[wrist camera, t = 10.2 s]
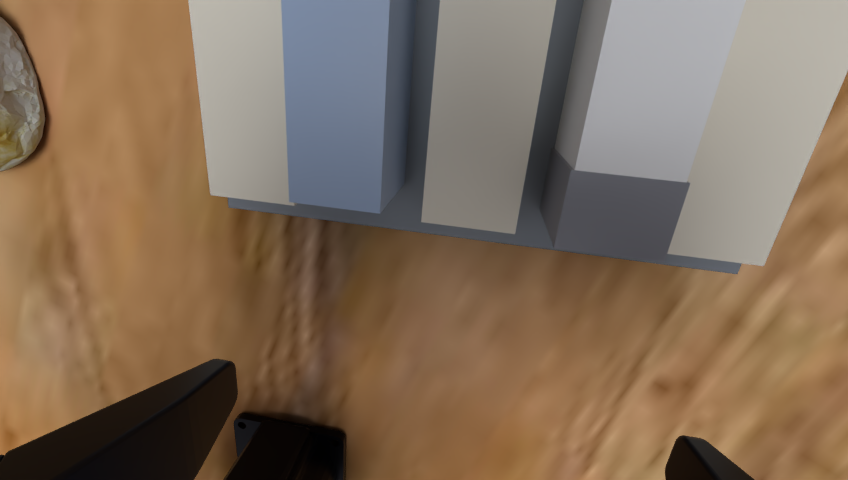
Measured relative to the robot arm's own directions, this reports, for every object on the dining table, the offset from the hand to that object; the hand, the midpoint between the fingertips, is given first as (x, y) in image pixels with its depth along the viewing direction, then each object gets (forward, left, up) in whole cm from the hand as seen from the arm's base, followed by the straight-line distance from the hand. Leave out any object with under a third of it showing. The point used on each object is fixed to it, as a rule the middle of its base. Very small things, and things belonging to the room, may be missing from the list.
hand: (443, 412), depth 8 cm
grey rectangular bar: (+7, +4, -10) cm, 13 cm away
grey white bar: (+7, -4, -10) cm, 13 cm away
